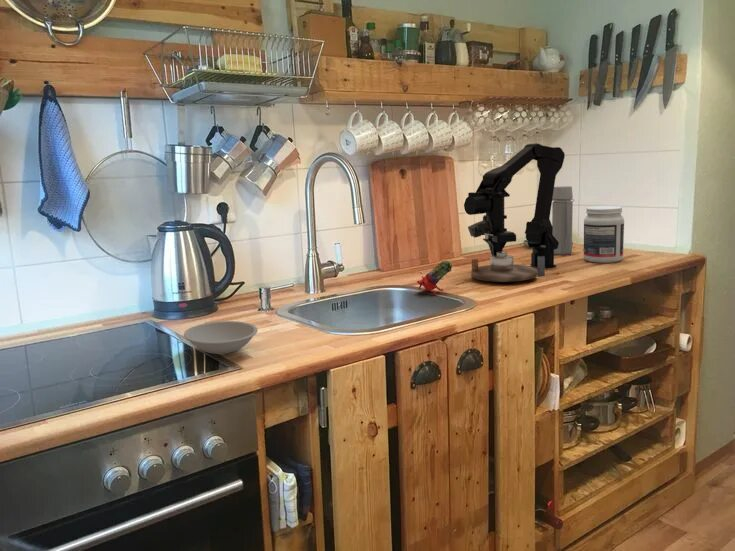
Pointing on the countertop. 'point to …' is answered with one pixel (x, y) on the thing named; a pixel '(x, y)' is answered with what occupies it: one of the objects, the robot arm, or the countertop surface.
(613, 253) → the supplement tub
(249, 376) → the countertop surface
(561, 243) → the water bottle
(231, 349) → the dish
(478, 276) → the turntable
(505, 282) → the turntable base
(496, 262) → the aluminium cover
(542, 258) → the post
